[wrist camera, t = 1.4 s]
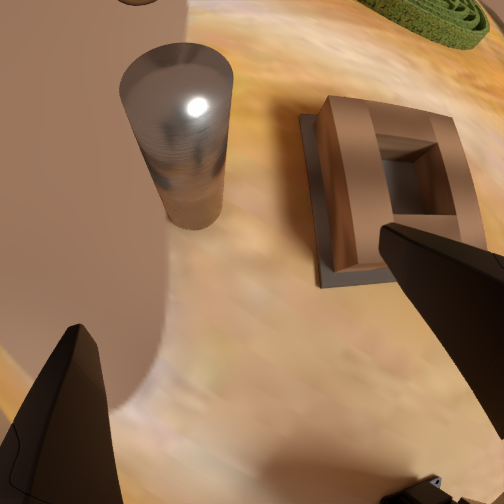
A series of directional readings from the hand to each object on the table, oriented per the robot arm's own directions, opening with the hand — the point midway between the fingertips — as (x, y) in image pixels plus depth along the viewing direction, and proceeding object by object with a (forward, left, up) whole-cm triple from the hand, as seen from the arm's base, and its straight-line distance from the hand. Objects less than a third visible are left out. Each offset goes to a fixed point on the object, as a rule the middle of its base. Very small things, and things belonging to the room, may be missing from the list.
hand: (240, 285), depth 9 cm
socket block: (+8, -14, -13) cm, 20 cm away
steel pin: (+7, +2, -13) cm, 15 cm away
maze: (+47, -30, -14) cm, 57 cm away
